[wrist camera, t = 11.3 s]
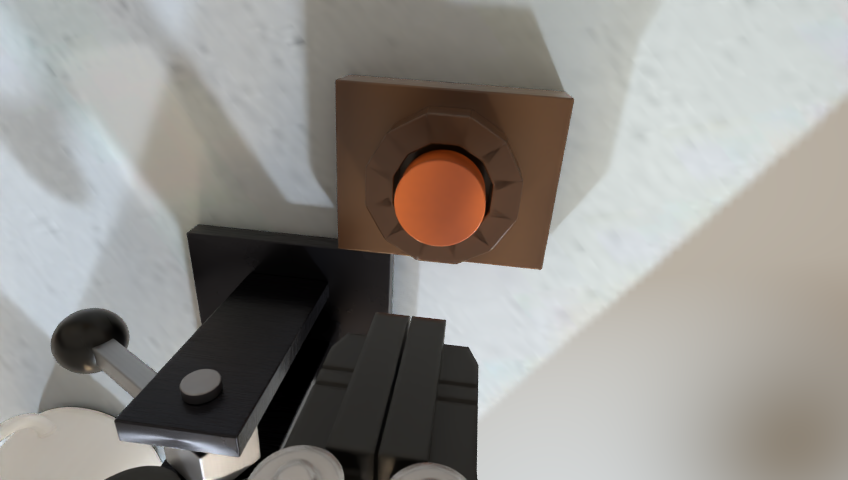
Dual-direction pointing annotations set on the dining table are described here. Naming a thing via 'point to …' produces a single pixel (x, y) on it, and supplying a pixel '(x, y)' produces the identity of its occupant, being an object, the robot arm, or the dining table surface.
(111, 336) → the lever
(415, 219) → the warm button
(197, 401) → the lever base
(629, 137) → the dining table surface
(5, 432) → the coffeepot
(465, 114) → the button base
